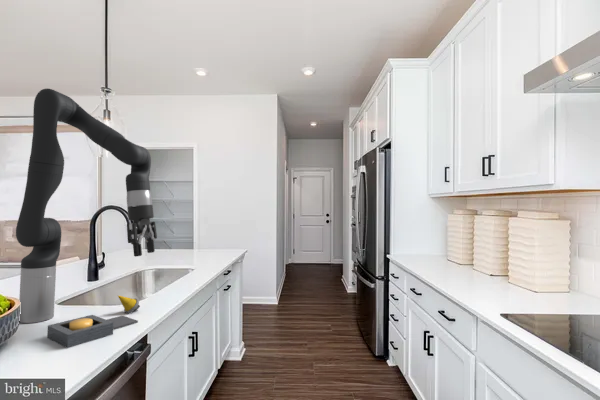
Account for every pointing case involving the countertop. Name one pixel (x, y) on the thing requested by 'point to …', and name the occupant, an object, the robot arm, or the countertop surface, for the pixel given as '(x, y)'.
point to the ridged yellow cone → (129, 304)
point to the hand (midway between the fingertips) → (144, 254)
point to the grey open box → (79, 332)
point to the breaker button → (80, 323)
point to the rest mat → (122, 321)
